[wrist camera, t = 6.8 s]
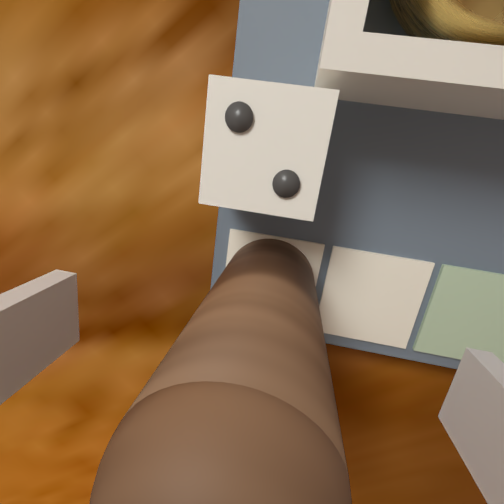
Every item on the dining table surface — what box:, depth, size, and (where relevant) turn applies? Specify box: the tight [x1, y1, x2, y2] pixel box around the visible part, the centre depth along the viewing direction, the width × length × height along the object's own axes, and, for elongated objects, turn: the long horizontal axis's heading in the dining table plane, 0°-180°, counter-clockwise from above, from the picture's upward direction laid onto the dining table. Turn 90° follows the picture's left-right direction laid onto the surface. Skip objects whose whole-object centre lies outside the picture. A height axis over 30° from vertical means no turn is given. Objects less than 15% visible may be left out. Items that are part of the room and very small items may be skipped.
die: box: [199, 75, 340, 222], centre depth 11 cm, size 4×4×4 cm
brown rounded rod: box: [90, 239, 352, 504], centre depth 9 cm, size 4×4×12 cm
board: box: [211, 0, 504, 369], centre depth 13 cm, size 22×16×1 cm
